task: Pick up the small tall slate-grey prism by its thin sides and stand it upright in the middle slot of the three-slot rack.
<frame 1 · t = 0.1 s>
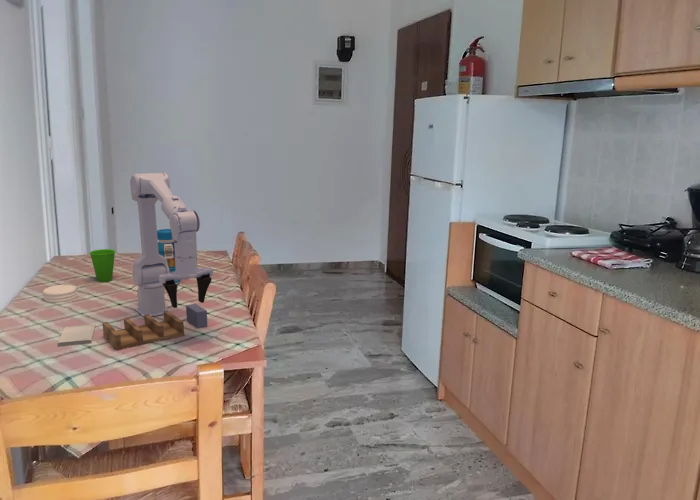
hand: (188, 304, 152), 10 cm above the table, fingers open, 7 cm apart
tall slate-grey prism: (197, 323, 167), on the table
coaster: (60, 299, 187), on the table
hard drive: (77, 339, 155), on the table
beverage bottle: (168, 283, 207), on the table
rack: (144, 335, 156), on the table
cup: (104, 280, 209), on the table
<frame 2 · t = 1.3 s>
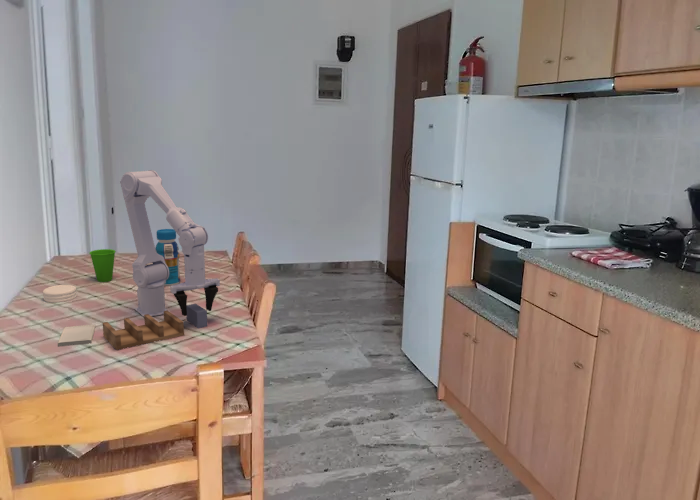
hand: (196, 312, 166), 3 cm above the table, fingers open, 7 cm apart
nothing on the table moved.
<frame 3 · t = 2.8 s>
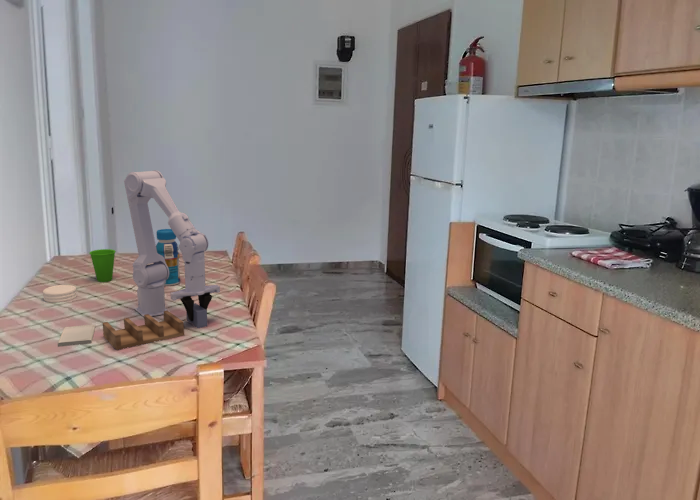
hand: (196, 318, 166), 1 cm above the table, fingers closed on tall slate-grey prism, 3 cm apart
tall slate-grey prism: (197, 323, 167), on the table, touching gripper
everything else where it was.
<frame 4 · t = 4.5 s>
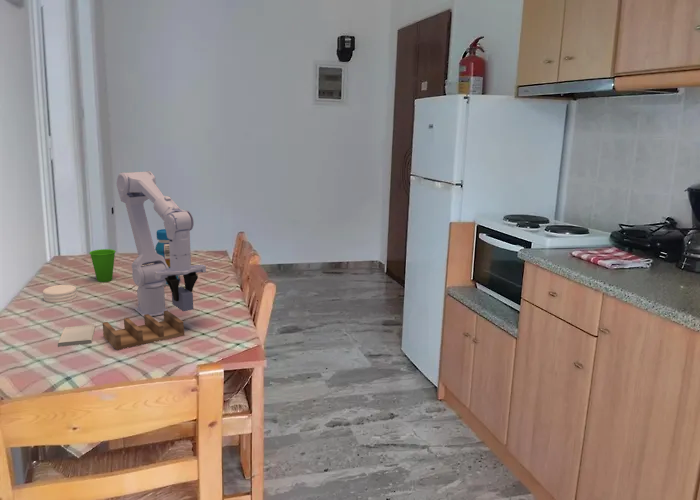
hand: (182, 299, 162), 8 cm above the table, fingers closed on tall slate-grey prism, 3 cm apart
tall slate-grey prism: (182, 306, 162), point 6 cm above the table, touching gripper
everything else where it was.
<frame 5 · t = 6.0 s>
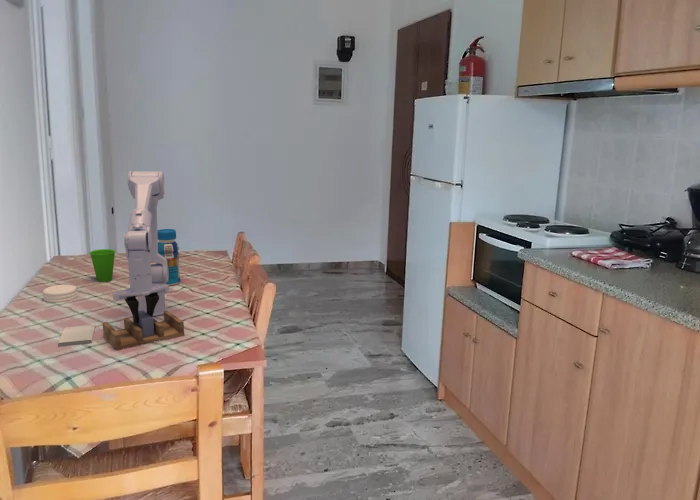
hand: (143, 320, 155), 4 cm above the table, fingers closed on tall slate-grey prism, 3 cm apart
tall slate-grey prism: (143, 332, 156), point 1 cm above the table, touching gripper
everything else where it was.
when the fingers open (4 cm above the table, at t = 6.6 s): tall slate-grey prism stays where it is, resting on rack.
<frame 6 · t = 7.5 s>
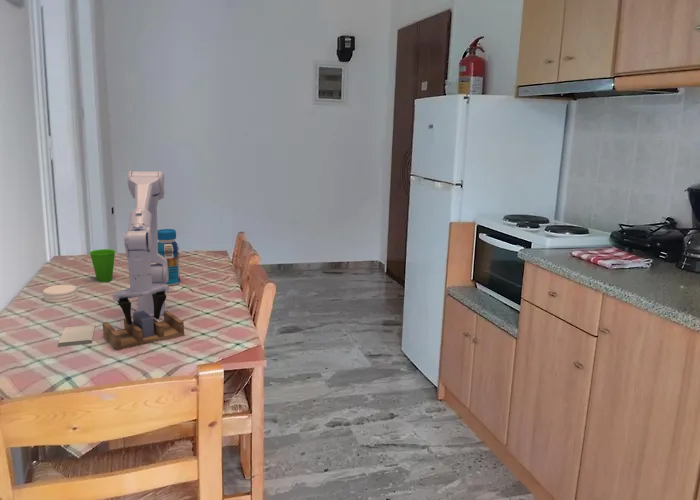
hand: (143, 320, 155), 4 cm above the table, fingers open, 7 cm apart
tall slate-grey prism: (143, 332, 156), point 1 cm above the table, touching rack
everything else where it was.
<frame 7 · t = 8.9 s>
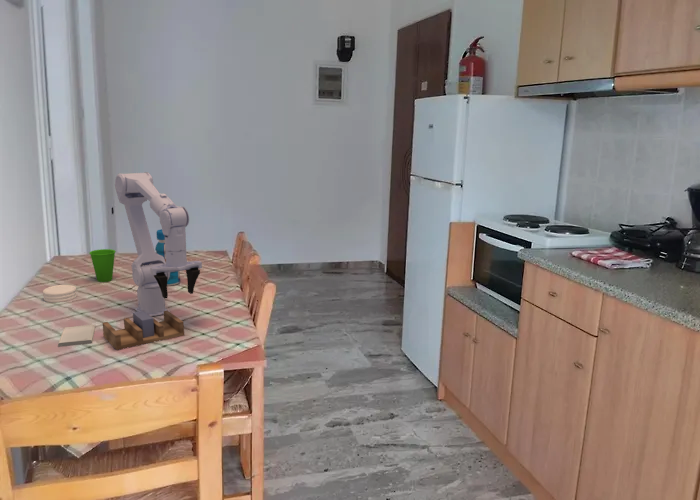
hand: (177, 295, 162), 9 cm above the table, fingers open, 7 cm apart
nothing on the table moved.
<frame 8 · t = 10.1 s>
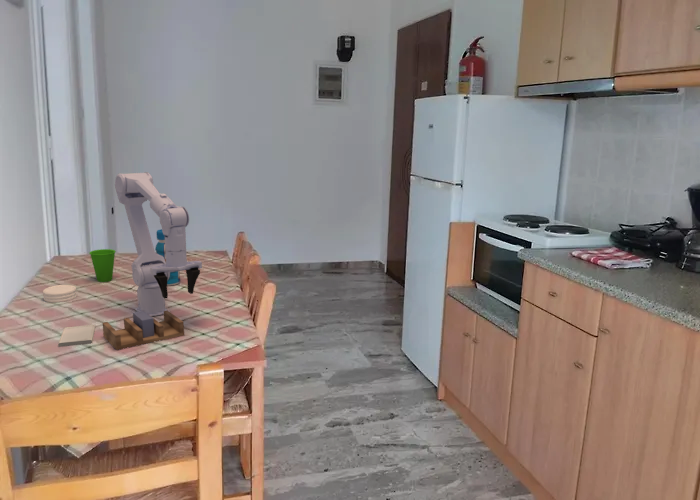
hand: (178, 295, 162), 9 cm above the table, fingers open, 7 cm apart
nothing on the table moved.
at the end: tall slate-grey prism 0.0 cm off-centre on the rack, point 1.0 cm above the rack's base; tall slate-grey prism tilted 0°; the gripper is holding nothing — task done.
